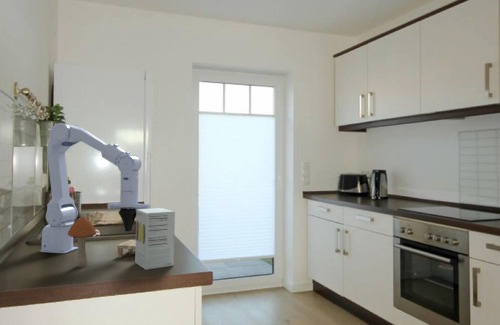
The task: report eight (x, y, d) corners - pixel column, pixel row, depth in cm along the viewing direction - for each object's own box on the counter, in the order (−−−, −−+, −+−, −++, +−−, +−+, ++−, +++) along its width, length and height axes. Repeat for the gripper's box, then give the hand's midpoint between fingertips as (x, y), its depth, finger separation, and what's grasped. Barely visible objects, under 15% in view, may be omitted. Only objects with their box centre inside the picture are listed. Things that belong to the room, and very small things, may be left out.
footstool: (117, 245, 125) (143, 246, 123) (130, 239, 134) (154, 241, 132) (117, 257, 125) (142, 259, 123) (130, 251, 134) (154, 252, 132)
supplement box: (134, 262, 119) (135, 209, 119) (162, 258, 124) (163, 207, 124) (145, 270, 111) (146, 212, 111) (174, 265, 116) (175, 210, 116)
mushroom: (77, 271, 108) (78, 219, 108) (61, 267, 112) (62, 216, 112) (101, 265, 115) (102, 216, 115) (85, 261, 119) (86, 213, 119)
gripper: (154, 190, 132) (153, 229, 132) (115, 189, 134) (114, 227, 134) (145, 192, 125) (144, 233, 125) (104, 190, 127) (103, 231, 127)
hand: (128, 230), depth 129 cm, fingers closed
